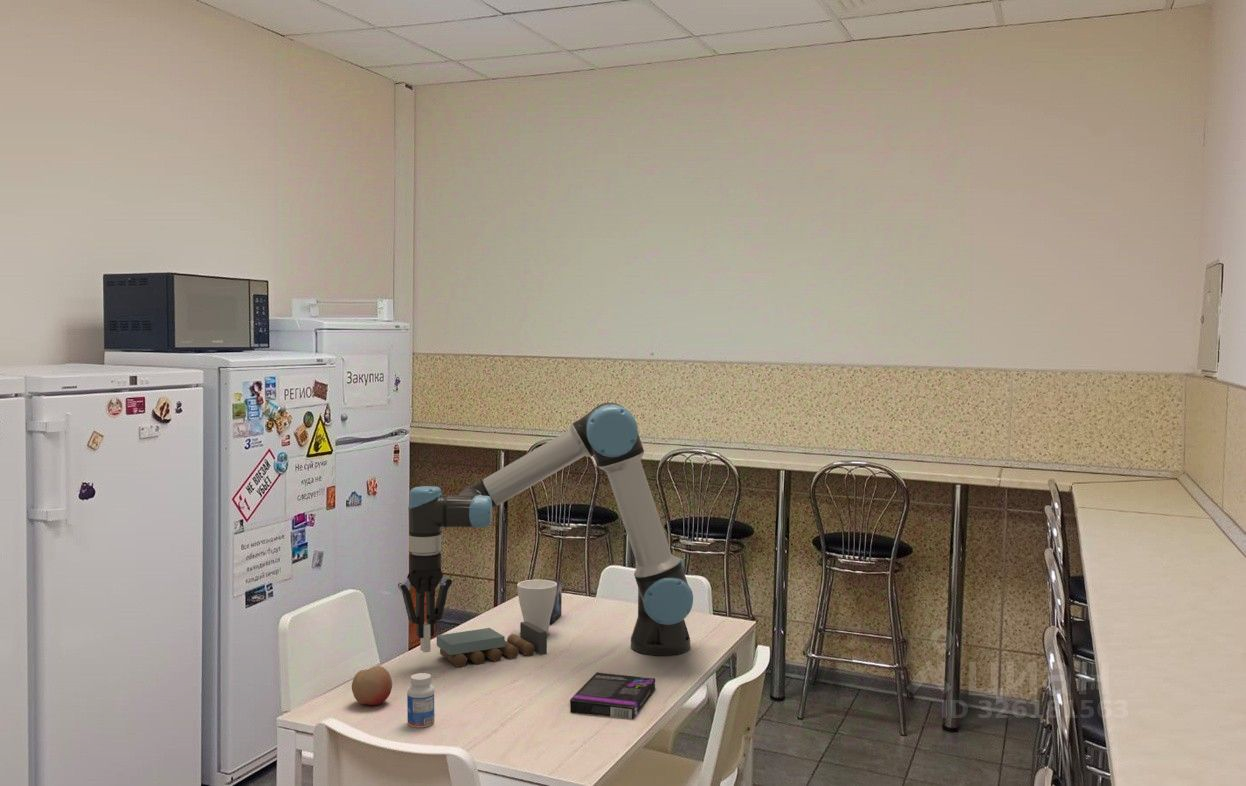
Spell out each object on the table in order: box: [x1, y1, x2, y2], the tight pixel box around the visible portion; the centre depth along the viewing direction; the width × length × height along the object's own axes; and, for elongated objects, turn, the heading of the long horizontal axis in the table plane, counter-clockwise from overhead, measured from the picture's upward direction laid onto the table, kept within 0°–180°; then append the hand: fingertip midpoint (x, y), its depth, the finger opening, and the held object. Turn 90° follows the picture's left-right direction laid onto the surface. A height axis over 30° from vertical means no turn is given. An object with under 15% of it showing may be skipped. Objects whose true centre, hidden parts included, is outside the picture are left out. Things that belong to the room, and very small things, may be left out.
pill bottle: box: [406, 672, 436, 729], centre depth 209 cm, size 6×5×10 cm
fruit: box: [351, 665, 393, 707], centre depth 220 cm, size 8×8×8 cm
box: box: [569, 671, 656, 720], centre depth 223 cm, size 14×4×20 cm
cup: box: [516, 579, 557, 636], centre depth 273 cm, size 10×10×14 cm
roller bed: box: [439, 633, 536, 668], centre depth 254 cm, size 10×21×3 cm, turn 121°
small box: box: [539, 577, 563, 626], centre depth 288 cm, size 11×6×10 cm, turn 168°
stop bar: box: [519, 621, 548, 656], centre depth 261 cm, size 11×2×6 cm, turn 31°
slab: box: [436, 627, 506, 655], centre depth 252 cm, size 9×14×2 cm, turn 121°
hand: (425, 650), depth 246 cm, fingers closed
